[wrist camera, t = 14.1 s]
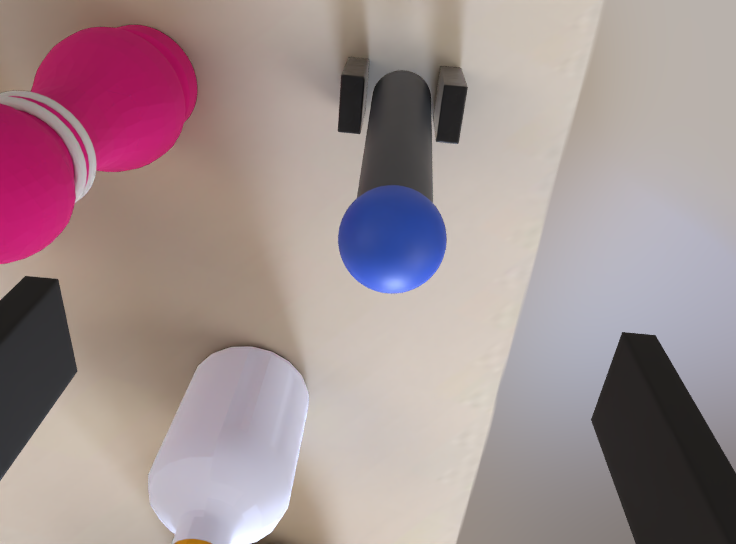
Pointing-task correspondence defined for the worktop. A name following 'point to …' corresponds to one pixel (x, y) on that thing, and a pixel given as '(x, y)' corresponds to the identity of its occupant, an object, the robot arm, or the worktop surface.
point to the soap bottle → (231, 449)
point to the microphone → (395, 193)
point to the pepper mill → (86, 126)
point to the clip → (446, 102)
